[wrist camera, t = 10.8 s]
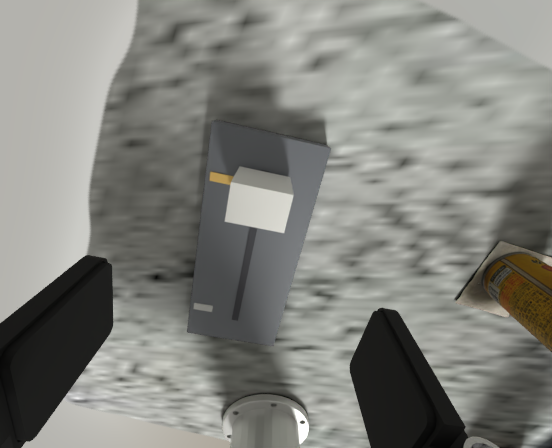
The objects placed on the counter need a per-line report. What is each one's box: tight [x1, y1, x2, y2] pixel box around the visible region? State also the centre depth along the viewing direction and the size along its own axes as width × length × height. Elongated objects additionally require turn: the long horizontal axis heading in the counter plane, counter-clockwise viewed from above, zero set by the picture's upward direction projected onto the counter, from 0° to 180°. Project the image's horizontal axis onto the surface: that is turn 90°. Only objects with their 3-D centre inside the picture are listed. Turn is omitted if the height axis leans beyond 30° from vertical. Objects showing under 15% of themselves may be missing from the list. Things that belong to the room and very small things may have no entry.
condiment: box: [456, 241, 552, 352], centre depth 26 cm, size 7×8×12 cm
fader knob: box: [225, 166, 294, 233], centre depth 22 cm, size 3×4×5 cm
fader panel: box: [187, 120, 331, 346], centre depth 28 cm, size 23×10×2 cm, turn 168°
